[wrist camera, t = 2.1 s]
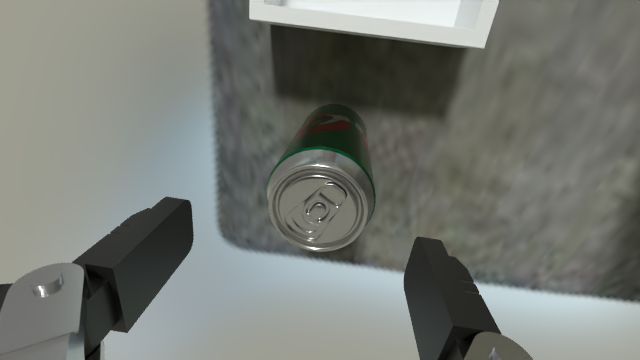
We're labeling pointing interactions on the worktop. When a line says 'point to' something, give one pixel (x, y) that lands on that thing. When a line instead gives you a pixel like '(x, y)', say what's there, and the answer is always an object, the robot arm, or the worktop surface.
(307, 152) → the soda can
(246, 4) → the worktop surface
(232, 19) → the worktop surface
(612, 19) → the worktop surface
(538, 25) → the worktop surface
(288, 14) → the tote
